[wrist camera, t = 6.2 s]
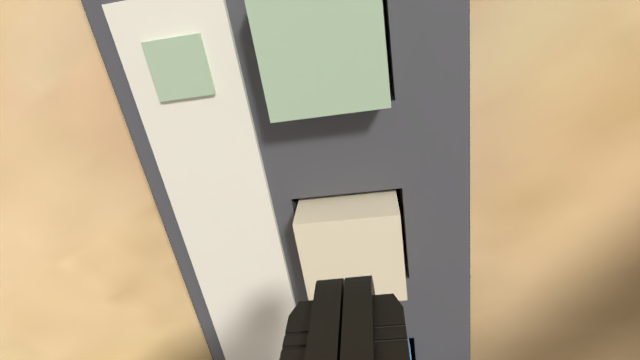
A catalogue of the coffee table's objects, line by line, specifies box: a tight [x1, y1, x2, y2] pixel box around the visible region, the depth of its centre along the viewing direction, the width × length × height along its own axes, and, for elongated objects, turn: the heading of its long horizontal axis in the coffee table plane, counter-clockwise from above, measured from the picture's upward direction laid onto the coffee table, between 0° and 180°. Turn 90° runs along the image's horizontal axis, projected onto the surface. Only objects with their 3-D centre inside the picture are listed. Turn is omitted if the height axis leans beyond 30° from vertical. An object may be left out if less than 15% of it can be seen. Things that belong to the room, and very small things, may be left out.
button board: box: [81, 0, 470, 360], centre depth 23 cm, size 16×32×4 cm, turn 9°
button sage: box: [244, 0, 391, 123], centre depth 18 cm, size 5×5×4 cm
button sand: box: [292, 189, 407, 301], centre depth 22 cm, size 5×5×4 cm
